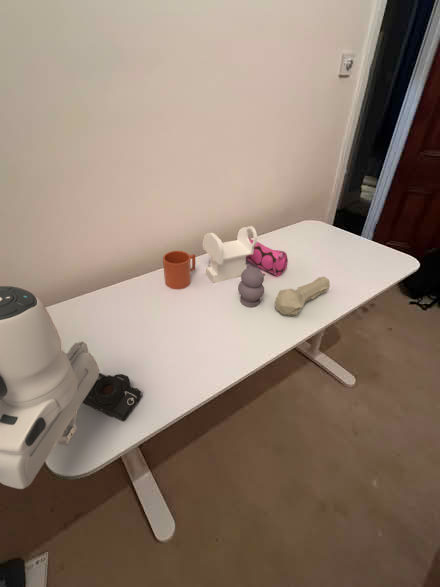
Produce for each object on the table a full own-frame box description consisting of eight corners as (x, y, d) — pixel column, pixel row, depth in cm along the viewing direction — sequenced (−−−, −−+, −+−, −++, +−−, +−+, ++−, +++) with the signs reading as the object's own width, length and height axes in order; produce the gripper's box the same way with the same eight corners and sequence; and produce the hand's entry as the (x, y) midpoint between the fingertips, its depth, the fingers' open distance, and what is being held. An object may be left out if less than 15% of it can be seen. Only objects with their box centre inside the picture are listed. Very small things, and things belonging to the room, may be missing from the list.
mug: (175, 292, 98) (173, 267, 92) (159, 280, 103) (157, 256, 97) (203, 279, 105) (203, 255, 99) (187, 268, 110) (186, 245, 104)
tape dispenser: (237, 262, 115) (241, 217, 104) (254, 280, 105) (260, 233, 95) (202, 270, 109) (203, 223, 99) (217, 289, 100) (220, 240, 89)
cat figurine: (231, 298, 97) (234, 266, 90) (249, 290, 101) (253, 258, 94) (249, 312, 91) (253, 280, 84) (267, 303, 95) (273, 271, 88)
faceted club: (265, 306, 93) (313, 281, 107) (284, 326, 89) (331, 298, 103) (276, 287, 86) (325, 263, 100) (297, 308, 83) (345, 280, 97)
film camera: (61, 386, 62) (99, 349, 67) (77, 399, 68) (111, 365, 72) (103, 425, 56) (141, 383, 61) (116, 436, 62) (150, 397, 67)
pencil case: (229, 257, 117) (230, 234, 111) (245, 249, 123) (248, 227, 117) (273, 281, 105) (277, 256, 99) (289, 271, 111) (294, 247, 105)
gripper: (65, 332, 52) (84, 382, 60) (-39, 452, 36) (7, 497, 44) (99, 338, 51) (114, 388, 59) (9, 464, 35) (46, 508, 43)
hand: (68, 436), depth 52 cm, fingers closed
